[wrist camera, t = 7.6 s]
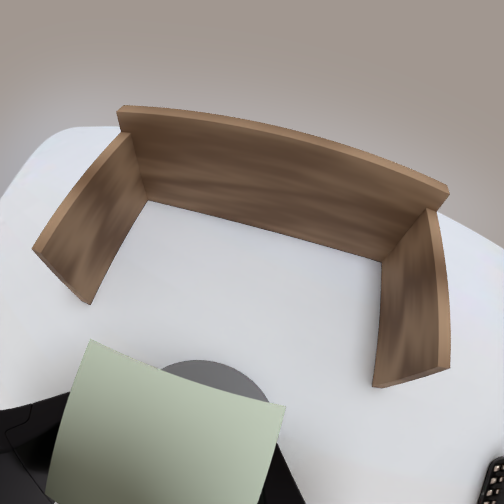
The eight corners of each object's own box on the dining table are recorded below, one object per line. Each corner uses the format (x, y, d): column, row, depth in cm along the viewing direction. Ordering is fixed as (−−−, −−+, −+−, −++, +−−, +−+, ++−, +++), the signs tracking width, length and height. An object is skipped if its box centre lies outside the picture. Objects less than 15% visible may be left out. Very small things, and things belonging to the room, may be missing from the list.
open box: (382, 388, 18) (473, 358, 10) (81, 300, 20) (15, 229, 11) (390, 256, 25) (446, 185, 16) (144, 190, 26) (123, 105, 18)
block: (227, 484, 11) (230, 571, 3) (142, 456, 12) (44, 493, 3) (250, 408, 14) (286, 406, 6) (165, 382, 14) (90, 338, 6)
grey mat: (186, 512, 12) (185, 515, 12) (106, 401, 16) (104, 401, 16) (303, 442, 16) (305, 443, 15) (219, 335, 20) (219, 333, 19)
